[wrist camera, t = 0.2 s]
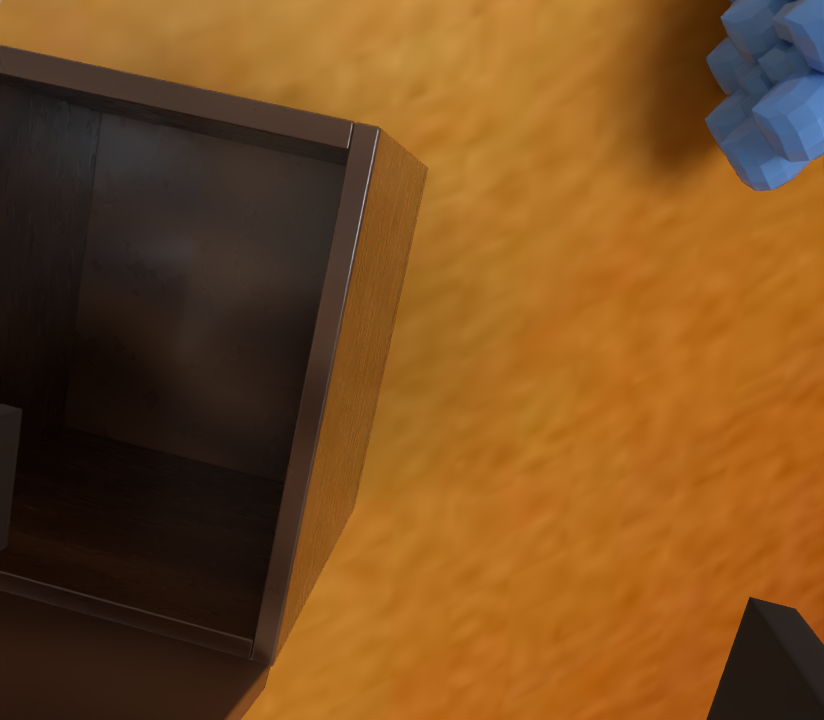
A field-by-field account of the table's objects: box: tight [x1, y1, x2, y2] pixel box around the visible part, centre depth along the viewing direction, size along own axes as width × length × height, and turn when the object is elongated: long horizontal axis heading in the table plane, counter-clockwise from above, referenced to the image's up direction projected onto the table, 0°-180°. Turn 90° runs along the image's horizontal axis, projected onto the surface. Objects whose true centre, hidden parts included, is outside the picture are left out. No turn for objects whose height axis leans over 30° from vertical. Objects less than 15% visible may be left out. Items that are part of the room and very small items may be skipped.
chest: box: [0, 45, 428, 667], centre depth 29 cm, size 18×17×14 cm
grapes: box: [705, 0, 824, 191], centre depth 25 cm, size 12×7×12 cm, turn 173°
